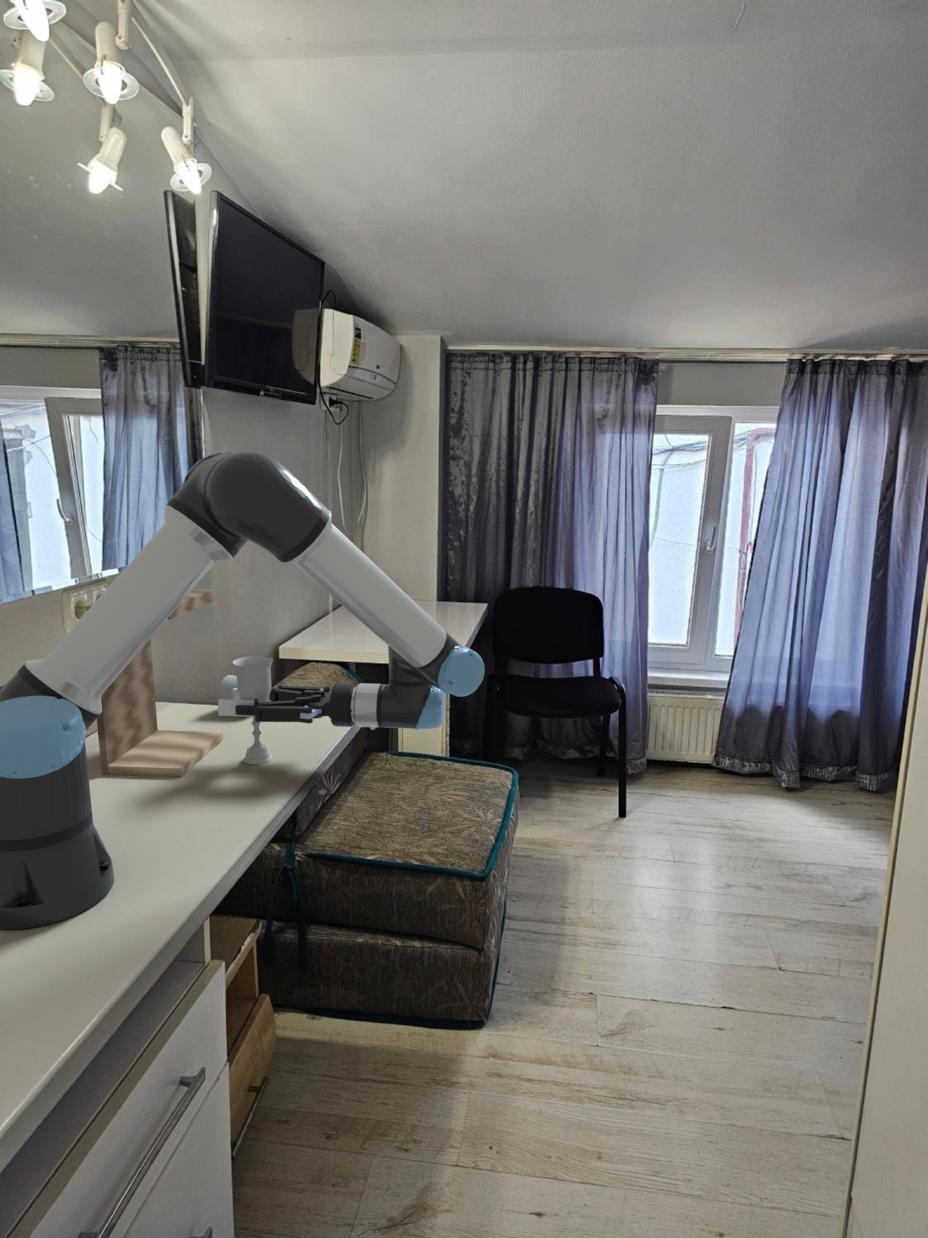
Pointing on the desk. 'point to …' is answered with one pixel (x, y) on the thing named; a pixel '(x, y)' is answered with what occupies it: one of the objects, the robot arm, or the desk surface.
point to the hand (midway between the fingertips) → (226, 701)
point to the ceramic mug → (227, 687)
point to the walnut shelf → (147, 719)
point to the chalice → (252, 686)
